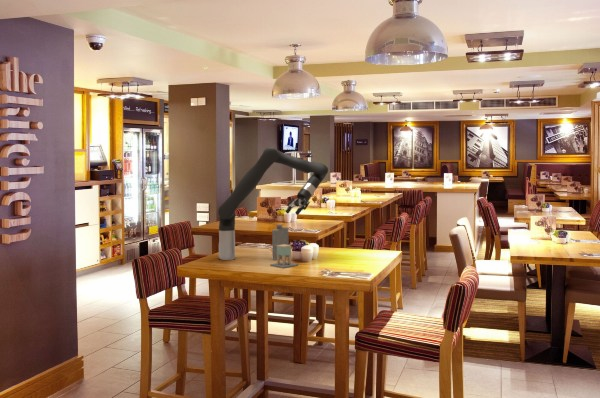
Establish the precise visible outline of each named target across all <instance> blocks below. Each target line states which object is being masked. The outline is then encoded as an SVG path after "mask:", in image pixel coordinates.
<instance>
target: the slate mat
mask: <svg viewBox="0 0 600 398" xmlns="http://www.w3.org/2000/svg"><path fill="white" fill-rule="evenodd" d="M269 265H270V266H271V267H273V268H274V267H275V268H279V269H280V268H281V269H287V268H294V267H298V266H299V264H298V263H295V262H294V263H293V262H291V264H288V261H286V263H285V265H284V266H283V265H282V261H280V264H277V262H276V263H270V264H269Z"/></svg>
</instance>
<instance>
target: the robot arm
mask: <svg viewBox="0 0 600 398" xmlns="http://www.w3.org/2000/svg"><path fill="white" fill-rule="evenodd" d="M274 163H276V164H281V165H284V166H287V167H290V168H292V169H294V170H296V171H299V172H302V173H305V174H311V173H312V175H311V176H309V178H308V179H307V181H306V182H305V183H304V184H303V186H302V187H301V188H300V189H299V191H298V193H296V194H297V195H296V198H294V197H292V198H291V199H290V200H289V201H288V203H287V204H286V206H287V208H286V209H285V213H286V214H290V212H291V210H292V209H294V208H296V207H298V208H297V209H296V210H295V213H294V214H296V216H299V214H301V212H302V211H305V210H306V209H307V208H308V207H309V205H310V203H311V201H310V199H312V197H313V195H314V194H315V192H316V190H317V189H318V188H319V186H320V184H321V183H322V181H324V179H326V176H327V174H328V173H329V167H328V166H327V165H326V164H324V163H321V162H315V161H309V160H306V159H302V158H299V157H296V156H292V155H288V154H287V153H285V152H282V151H280V150H278V149H277V148H276V147H273V146H269V147H266V148H264V150H263V152H262V154H261V155H260V158H259V159H258V160H257V162H256V163H255V164H254V165H253V166H252V167H251V168H250V169H249V170H248V171H247V172H246V173H245V174H243V176H242V178H241V179H240V180H239V182H238V183H237V185H236V186H235V188H234V189H233V191H232V192H231V194H230V196H229V197H227V199H226V200H225V201H223V203H222V204H220V205H219V207H218V208H217V209H218V210H217V214H218V217H219V223H218V238H219V239H218V241H219V242H218V259H219V260H223V261H230V260H235V259H236V234H235V233H236V231H235V229H236V210H237V208H238V207H239V206H240V204H241V203H242V202H243V201H244V200H245V199H246V198H247V197H248V196H249V195H250V194H251V193H252V192H253V191H254V190H255V188H256V187H257V186H258V184H259V183H260V181H261V180H262V178H263V177H264V175H265V173H266V172H267V170H268V169H269V168H270V167H271V166H272V165H273V164H274Z"/></svg>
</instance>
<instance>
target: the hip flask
mask: <svg viewBox="0 0 600 398" xmlns="http://www.w3.org/2000/svg"><path fill="white" fill-rule="evenodd" d="M275 226H276V228H275V229H272V230H271V232H272V234H271V236H272V237H271V240H272V241H271V242H272V244H271V245H272V247H271V248H272V250H271V251H272V261H277V245H283V244H286V245H290V244H289V227H288V226H284V227H283V224H276V225H275ZM286 258H288V255H286ZM280 259H281V260H282V255H280Z"/></svg>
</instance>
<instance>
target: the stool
mask: <svg viewBox="0 0 600 398" xmlns="http://www.w3.org/2000/svg"><path fill="white" fill-rule="evenodd" d="M280 255H282V258H281V261H280ZM286 255H288V257H286ZM291 256H292V245H291V244H289V245H286V244H283V245H277V260H276V263H277V264H280V262H282V265H283V266H284V265H285V263H286V262H288V264H291V263H292V261H291V260H292V259H291V258H292V257H291ZM286 258H287V261H286Z"/></svg>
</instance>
